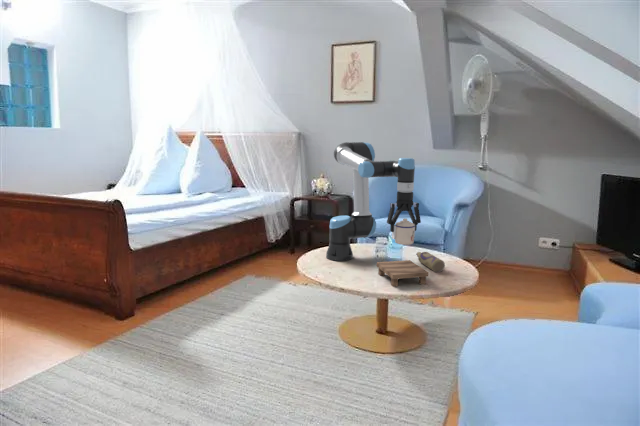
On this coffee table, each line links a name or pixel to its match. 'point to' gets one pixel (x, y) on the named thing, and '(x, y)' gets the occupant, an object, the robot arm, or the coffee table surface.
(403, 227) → the teacup with lid
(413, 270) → the walnut stand
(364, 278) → the coffee table surface
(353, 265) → the coffee table surface
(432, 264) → the decorative bottle
